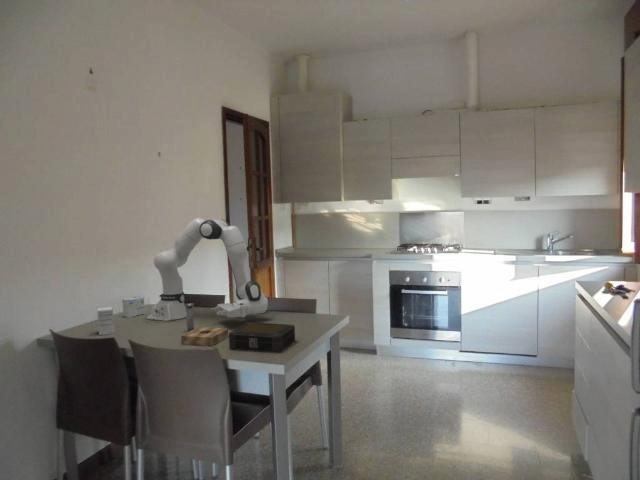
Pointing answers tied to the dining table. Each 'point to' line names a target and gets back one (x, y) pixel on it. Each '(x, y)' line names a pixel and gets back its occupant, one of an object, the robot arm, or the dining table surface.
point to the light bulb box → (133, 306)
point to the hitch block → (204, 336)
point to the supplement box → (105, 320)
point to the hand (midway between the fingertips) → (213, 312)
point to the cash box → (262, 337)
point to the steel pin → (190, 316)
